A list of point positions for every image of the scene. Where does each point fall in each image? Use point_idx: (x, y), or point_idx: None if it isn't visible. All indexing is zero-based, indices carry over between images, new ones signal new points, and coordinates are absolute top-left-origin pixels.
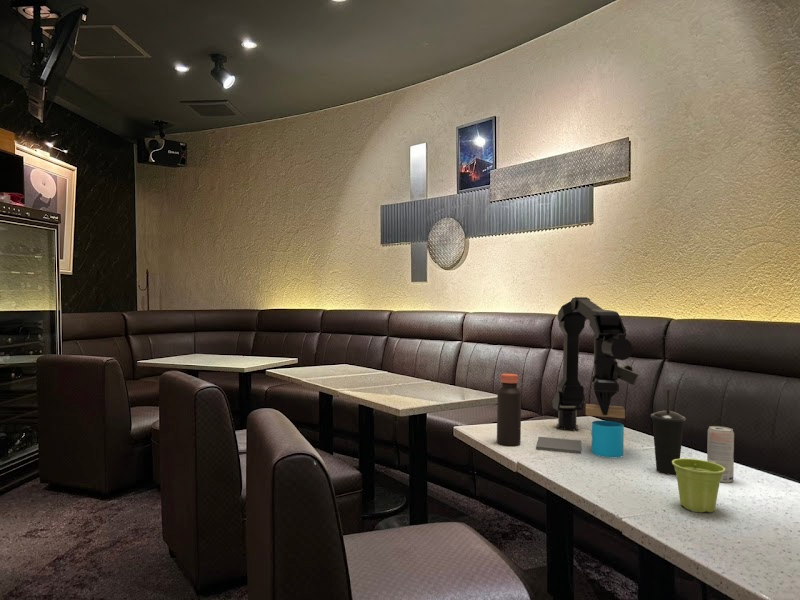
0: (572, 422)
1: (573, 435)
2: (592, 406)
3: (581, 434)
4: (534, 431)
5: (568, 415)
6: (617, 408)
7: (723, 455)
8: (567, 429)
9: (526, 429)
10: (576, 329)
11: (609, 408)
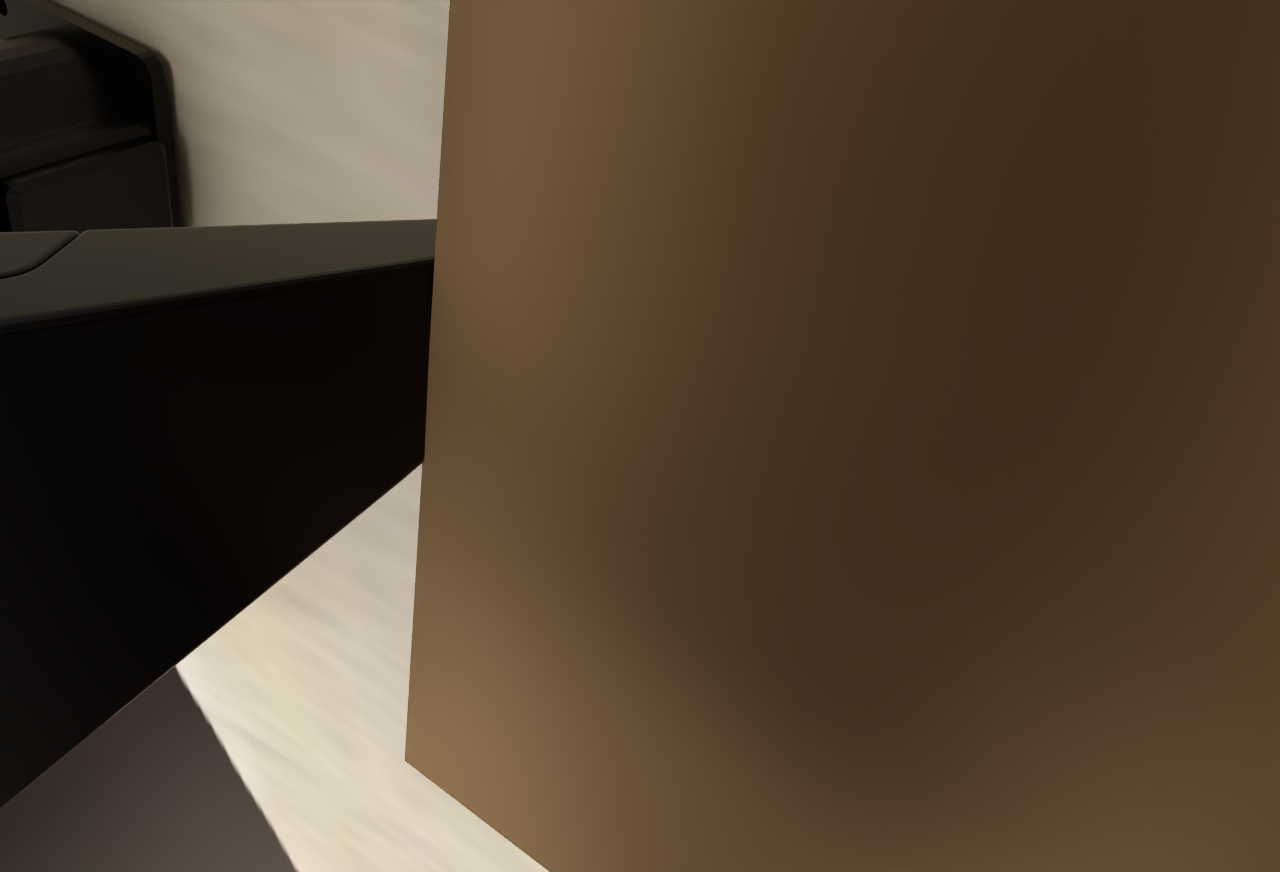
0: (79, 144)
1: (366, 202)
2: (728, 860)
3: (292, 67)
4: (342, 563)
5: (8, 226)
6: (1089, 99)
7: None
8: (174, 177)
9: (299, 596)
10: None
11: (1106, 540)
